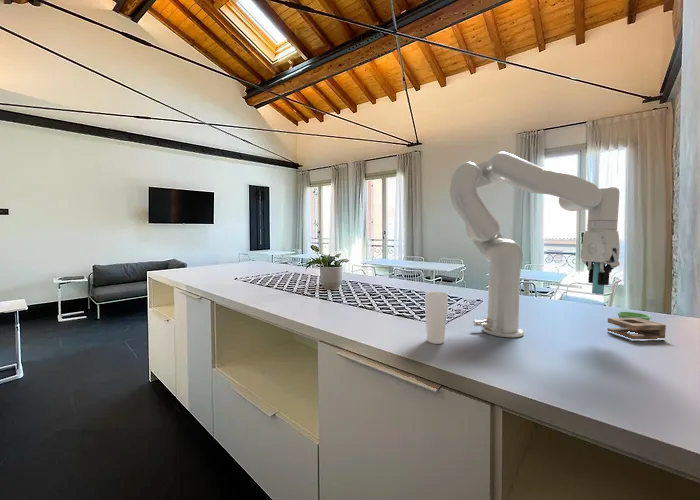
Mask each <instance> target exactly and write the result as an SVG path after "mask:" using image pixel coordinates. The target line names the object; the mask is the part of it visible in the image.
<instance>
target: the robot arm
mask: <svg viewBox="0 0 700 500" xmlns="http://www.w3.org/2000/svg"><path fill="white" fill-rule="evenodd" d="M498 181H502V182H504V183H508V184H509V185H512V186H514V187H515V188H518V189H520V190H522V191H524V192H527V193H532V194H540V195H541V194H542V195H549V196H553V197H557V198H558V204H559V206H560V207H561V208H562V209H563V210H566V211H568V212H577V211H588V213H587V215H588V216H587V224H586V225H587V227H586V228H587V229H586V230H585V232H584V235H583V237H582V243H581V250H580V258H581V262H582V263H583V264H585V266H586V267H587V271H588V279H587V280H588V281H587V282H588V284H593V268H594V262H600V272H599V273H598V285H604V286H608V285H610V274H611V273H612V270H614V269H615V268H616V267H619V266H620V264H621V263H620V261H619V258H620V235H619V231H618V220H619V207H620V193H621V192H620V189H619V188H617V187H615V186H602V187H601V186H600V187H599V186H598V185H596V184H595V183H592V182H590V181H588V180H586V179H583V178H582V177H578V176H577V175H574V174H570V173H567V172H562V171H558V170H555V169H554V170H553V169H549V168H544V167H542V166H539V165H537V164H535V163H533V162H530V161H528V160H526V159H523V158H521V157H518V156H517V155H514V154H512V153H509V152H506V151H498V152H496V153H494V154H493V155H492V156H490V157H489V159H487V160H484V161H481V162H479V163H474V162H472V161H465V162H462V163H461V164H459V165H458V166H457V167H456V168H455V170H454V171H453V172H452V174H451V177H450V185H449V194H450V195H449V197H450V201H451V203H452V205H453V208H454V210H455V211H456V212H457V214H458V215H459V216H460V218H461V220H462V221H463V223H465V232H466V234H467V236H468V238H469V239H470V241H471V242H472V244H473V245H474V246H475V247H476V249H477V250H478V251H479V253H480V254H481V255H482V256H483V258H484V259H485V260H486V261H487V262H488V263H490V264H489V265H490V266H489V271H488V283H487V284H488V285H487V286H488V287H487V288H488V291H487V293H488V295H487V316H484V318H483V319H482V320H479V319H474V320H473V326H474V327H481V328H482V331H483V332H484V333H486V334H488V335H491V336H497V337H500V338H519V337H522V336H524V330H523V329H522V328H520V327H519V319H520V290H521V289H520V288H521V287H520V283H521V272H522V271H521V270H522V265H523V261H524V260H523V259H524V257H523V256H524V254H523V249H522V247H521V246H520V244H519V243H518V242H517V241H515V240H512V239H509V238H504V237H503V235H502V234H501V233H500V229H501V225H500V223H499V221H498V219H497V218H496V217H495V216H494V214H493V213H492V212H491V211H490V210H489V208H488V207H487V206H486V204H485V203H484V202H483V201H482V199H481V197H480V196H479V193H478V190H477V189H478V188H481V187H484V186H487V185H491V184H493V183H496V182H498ZM605 264H606V266H605Z"/></svg>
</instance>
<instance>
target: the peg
mask: <svg viewBox="0 0 700 500" xmlns="http://www.w3.org/2000/svg"><path fill="white" fill-rule="evenodd" d="M593 264H594V268H593V283H591V284H592V288H591V293H592V294H595V295H604V294H605V285H598V273H599V272H600V262H594V263H593ZM606 265H607V264H605V266H606Z"/></svg>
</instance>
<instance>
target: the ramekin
mask: <svg viewBox="0 0 700 500" xmlns="http://www.w3.org/2000/svg"><path fill="white" fill-rule="evenodd" d="M617 316H618V318H642V319H645V320H649V321H651V320H650V319H651V315H650V314H646V313H641V312H635V311H634V312H633V311H618V312H617Z"/></svg>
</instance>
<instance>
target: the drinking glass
mask: <svg viewBox="0 0 700 500" xmlns="http://www.w3.org/2000/svg"><path fill="white" fill-rule="evenodd" d="M448 300H449V297H448V293H446V292H441V291H427V292H425V294H424V312H425V313H424V314H425V327H426V341H427V342H428V343H430V344H434V345H439V344H440V345H441V344H443V343H445V340H446V339H445V338H446V337H445V336H446V334H445V333H446V325H447V316H448V304H449V303H448V302H449V301H448Z"/></svg>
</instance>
